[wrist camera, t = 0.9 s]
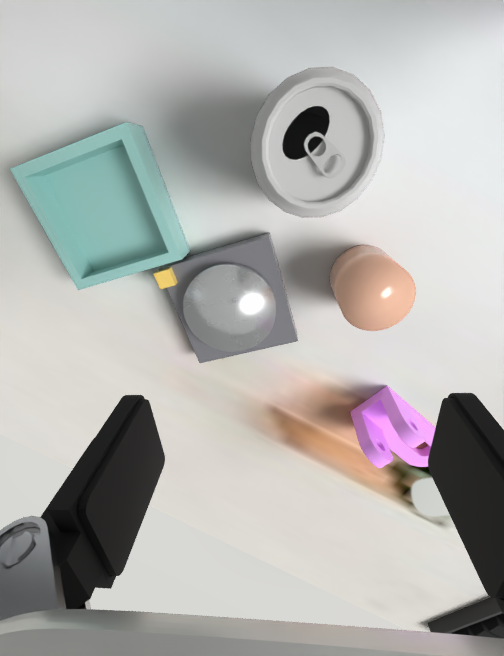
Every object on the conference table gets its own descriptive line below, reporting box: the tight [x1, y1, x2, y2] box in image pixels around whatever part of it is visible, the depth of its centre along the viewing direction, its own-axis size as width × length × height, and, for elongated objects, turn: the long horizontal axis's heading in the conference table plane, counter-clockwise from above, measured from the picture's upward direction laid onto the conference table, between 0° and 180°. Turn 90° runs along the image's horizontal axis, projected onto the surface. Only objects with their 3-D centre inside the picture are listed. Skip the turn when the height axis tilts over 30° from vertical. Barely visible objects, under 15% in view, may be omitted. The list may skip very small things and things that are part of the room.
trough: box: [10, 122, 190, 290], centre depth 29 cm, size 11×11×3 cm
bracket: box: [350, 386, 436, 468], centre depth 37 cm, size 13×6×7 cm, turn 49°
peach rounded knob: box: [330, 245, 416, 331], centre depth 29 cm, size 6×6×6 cm
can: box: [251, 67, 384, 218], centre depth 22 cm, size 8×8×12 cm
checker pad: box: [183, 262, 276, 352], centre depth 32 cm, size 9×9×1 cm
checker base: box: [154, 233, 298, 363], centre depth 33 cm, size 11×11×3 cm
